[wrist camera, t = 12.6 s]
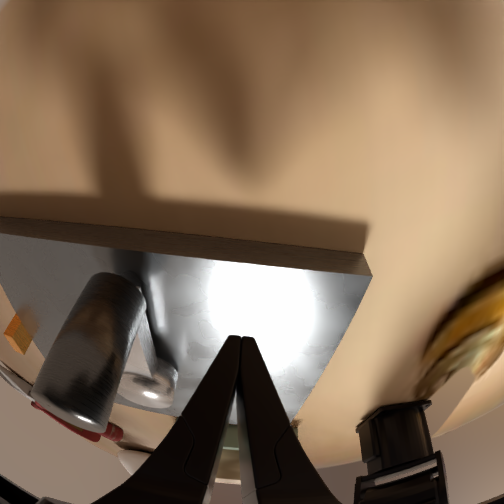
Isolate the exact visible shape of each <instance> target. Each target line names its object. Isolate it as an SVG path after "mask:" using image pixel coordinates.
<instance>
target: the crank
mask: <svg viewBox="0 0 504 504" xmlns="http://www.w3.org/2000/svg"><path fill="white" fill-rule="evenodd" d="M145 310H146V301H145V298H144V296H143V295H142V293H141V288H140V287H138V286H135V285H134V284H133V283H131V282H130V281H129V280H127V279H125V278H124V277H122V276H119V275H117V274H114V273H109V272H100V273H97V274H94V275H93V276H92V277H91V278H90V279H89V281H88V283H87V284H86V286H85V287H84V289H83V291H82V292H81V294H80V296H79V297H78V299H77V301H76V303H75V304H74V306H73V308H72V310H71V311H70V313H69V315H68V317H67V318H66V320H65V322H64V324H63V326H62V328H61V330H60V331H59V333H58V335H57V337H56V339H55V341H54V343H53V345H52V347H51V349H50V351H49V353H48V355H47V357H46V359H45V361H44V363H43V365H42V368H41V370H40V372H39V374H38V376H37V379H36V381H35V383H34V385H33V388H32V390H31V396H32V397H33V398H34V399H35V400H36V401H37V402H38V403H39V404H40V405H41V406H42V407H44V408H45V409H46V410H48V411H49V412H51V413H52V414H54V415H56V416H57V417H59V418H61V419H63V420H65V421H67V422H69V423H71V424H73V425H75V426H77V427H80V428H83V429H85V430H89V431H92V432H97V433H104V432H105V431H106V428H107V424H108V420H109V417H110V414H111V410H112V407H113V403H114V400H115V397H116V394H117V393H118V394H120V395H121V396H122V397H124V398H126V399H127V400H129V401H132V402H134V403H136V404H139V405H142V406H146V407H151V408H167V407H170V406H171V405H172V403H173V399H174V394H175V389H176V384H177V379H178V373H177V371H176V369H175V368H174V367H173V366H172V365H170V364H169V363H168V362H166V361H164V360H163V359H161V358H158V357H157V356H156V352H155V349H154V345H153V341H152V337H151V333H150V329H149V325H148V320H147V316H146V312H145Z"/></svg>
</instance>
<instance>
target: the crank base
mask: <svg viewBox="0 0 504 504" xmlns="http://www.w3.org/2000/svg"><path fill="white" fill-rule="evenodd" d="M100 272H109V273H114V274H117V275H119V276H122V277H124V278H125V279H127V280H129V281H130V282H131V283H133V284H134V285H135V286H138V287H140V288H141V293H142V295H143V296H144V298H145V301H146V310H145V312H146V316H147V320H148V325H149V329H150V333H151V337H152V341H153V345H154V349H155V352H156V356H157V357H158V358H161V359H163V360H164V361H166V362H168V363H169V364H170V365H172V366H173V367H174V368H175V369H176V371H177V373H178V379H177V384H176V389H175V394H174V399H173V403H172V405H171V406H170V407H167V408H151V407H146V406H142V405H139V404H136V403H134V402H132V401H129V400H127V399H126V398H124V397H122V396H121V395H120V394H118V393H117V394H116V397H115V400H114V403H118V404H122V405H125V406H129V407H133V408H138V409H142V410H146V411H151V412H156V413H160V414H166V415H171V416H176V417H179V416H180V415H181V413H182V411H183V409H184V408H185V406H186V405H187V403H188V401H189V400H190V398H191V397H192V395H193V393H194V392H195V390H196V388H197V387H198V385H199V383H200V382H201V380H202V379H203V377H204V375H205V374H206V372H207V370H208V369H209V367H210V365H211V364H212V362H213V360H214V359H215V357H216V355H217V354H218V352H219V350H220V349H221V347H222V345H223V344H224V342H225V340H226V339H227V337H228V336H229V335H230V334H232V335H240V336H241V338H242V336H251V337H254V338H255V340H256V342H257V344H258V347H259V349H260V352H261V354H262V357H263V359H264V361H265V364H266V366H267V369H268V371H269V373H270V376H271V378H272V381H273V383H274V385H275V388H276V390H277V392H278V395H279V397H280V399H281V402H282V404H283V406H284V409H285V411H286V413H287V416H288V418H289V420H290V423H291V421H292V420H293V419H294V417H295V416H296V414H297V413H298V411H299V410H300V408H301V407H302V405H303V403H304V402H305V400H306V399H307V397H308V396H309V394H310V392H311V391H312V389H313V388H314V386H315V384H316V383H317V381H318V380H319V378H320V376H321V375H322V373H323V371H324V369H325V368H326V366H327V364H328V363H329V361H330V359H331V357H332V356H333V354H334V352H335V350H336V348H337V347H338V345H339V343H340V341H341V339H342V338H343V336H344V334H345V332H346V330H347V328H348V326H349V324H350V322H351V320H352V318H353V317H354V315H355V313H356V311H357V309H358V307H359V304H360V302H361V300H362V298H363V296H364V294H365V292H366V290H367V288H368V286H369V283H370V281H371V279H372V277H373V276H372V273H371V271H370V269H369V266H368V264H367V261H366V259H365V257H364V254H359V253H351V252H343V251H334V250H326V249H317V248H309V247H300V246H291V245H282V244H274V243H265V242H256V241H247V240H238V239H228V238H219V237H210V236H200V235H191V234H181V233H171V232H162V231H152V230H142V229H132V228H122V227H111V226H101V225H90V224H79V223H69V222H58V221H46V220H35V219H23V218H11V217H0V283H1V285H2V287H3V289H4V291H5V293H6V295H7V297H8V299H9V301H10V303H11V305H12V306H13V308H14V310H15V312H16V314H15V316H14V317H13V319H12V321H11V322H10V324H9V325H8V327H7V329H6V330H5V332H4V336H5V337H6V339H7V340H8V341H9V343H10V344H11V346H12V347H13V348H14V350H15V351H16V352H19V353H21V354H23V355H24V354H25V352H26V350H27V349H28V347H29V345H30V343H31V341H32V340H33V341H34V343H35V344H36V346H37V347H38V349H39V350H40V352H41V353H42V355H43V356H44V357H45V359H46V357H47V355H48V353H49V351H50V349H51V347H52V345H53V343H54V341H55V339H56V337H57V335H58V333H59V331H60V330H61V328H62V326H63V324H64V322H65V320H66V318H67V317H68V315H69V313H70V311H71V310H72V308H73V306H74V304H75V303H76V301H77V299H78V297H79V296H80V294H81V292H82V291H83V289H84V287H85V286H86V284H87V283H88V281H89V279H90V278H91V277H92V276H93V275H94V274H97V273H100ZM229 424H237V410H236V394H235V399H234V404H233V408H232V412H231V416H230V421H229Z"/></svg>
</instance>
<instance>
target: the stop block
mask: <svg viewBox="0 0 504 504" xmlns="http://www.w3.org/2000/svg"><path fill="white" fill-rule="evenodd" d="M215 482H220V483H230V484H241V479H240V463H239V450H229V449H223V450H222V454H221V458H220V463H219V467H218V471H217V475H216V479H215Z"/></svg>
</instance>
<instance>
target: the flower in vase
mask: <svg viewBox="0 0 504 504" xmlns="http://www.w3.org/2000/svg"><path fill="white" fill-rule="evenodd" d="M117 454H118V458H119V460H120V462H121V463H122V465H123V466H124V467H125V468H126V470H127V471H128V472H129V473H130V474H131V476H132V475H133V474H134V473H135V472H136V471H137V469H138V468H139V467H140V466H141V465H142V464H143V463H144V462H145V461H146V459H147V458H148V457H149V456H150V455H151V454H149V453H145V452H140V451H133V450H121V451H119V452H118V453H117Z"/></svg>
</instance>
